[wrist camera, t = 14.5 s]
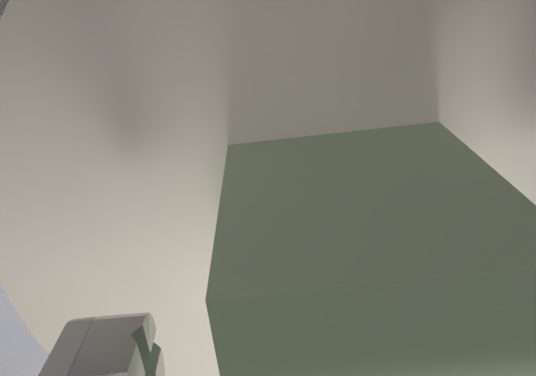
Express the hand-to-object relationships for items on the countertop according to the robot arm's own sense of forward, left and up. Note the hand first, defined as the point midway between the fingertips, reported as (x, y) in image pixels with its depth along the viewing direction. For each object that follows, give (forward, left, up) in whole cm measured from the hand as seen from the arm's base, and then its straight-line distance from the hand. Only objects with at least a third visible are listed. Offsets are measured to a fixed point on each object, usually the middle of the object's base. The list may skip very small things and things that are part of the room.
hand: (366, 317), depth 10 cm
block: (0, 0, -4) cm, 4 cm away
